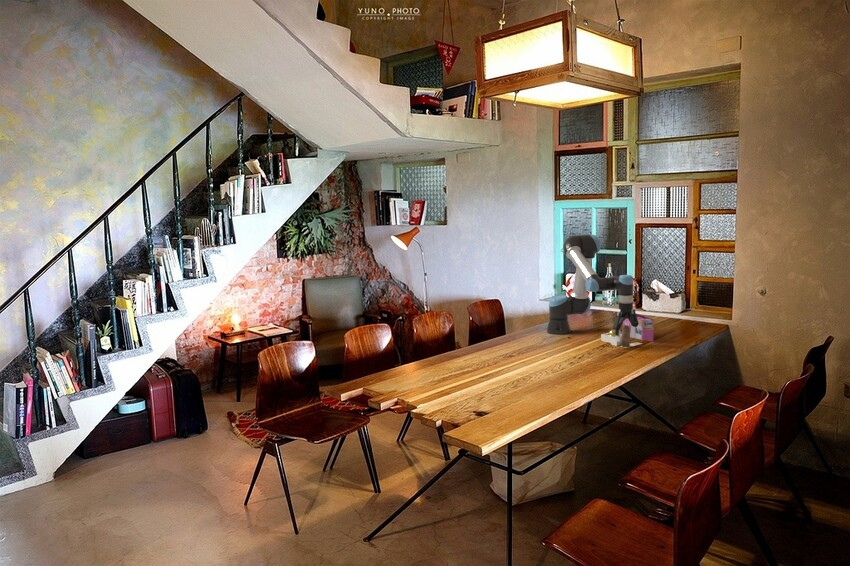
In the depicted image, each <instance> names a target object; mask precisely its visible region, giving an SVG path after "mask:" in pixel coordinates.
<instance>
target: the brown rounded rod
mask: <svg viewBox="0 0 850 566" xmlns="http://www.w3.org/2000/svg"><path fill="white" fill-rule="evenodd" d="M621 334H622V342H621V346H622V347H621V348H625V347H627V348H630V344H631V343H630V342H631V337H630V327H629V326H627V325H624V326H623V325H622V326H621Z"/></svg>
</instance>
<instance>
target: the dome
mask: <svg viewBox="0 0 850 566" xmlns="http://www.w3.org/2000/svg"><path fill="white" fill-rule="evenodd" d="M607 333H608V334H607V335H608V336H613V337H615V336H616V335H615V330H614V329H610V330H609V331H608V332H607Z"/></svg>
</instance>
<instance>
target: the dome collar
mask: <svg viewBox="0 0 850 566" xmlns="http://www.w3.org/2000/svg"><path fill="white" fill-rule="evenodd" d="M608 333H609V332H607V333H602V334H600V341H601V342H604V343H605V342H606V343H610V344H611V338H615V337H616V336H615V337H613V336H608V335H607V334H608ZM620 338H621V343H622V333H620Z"/></svg>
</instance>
